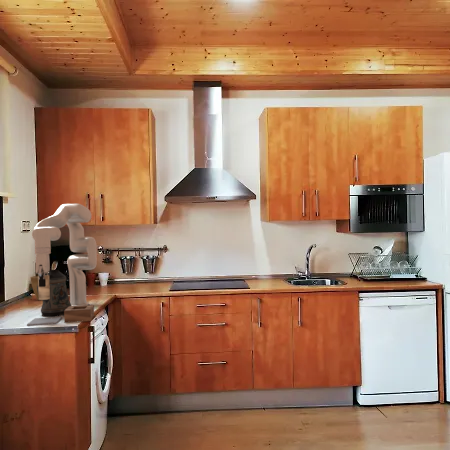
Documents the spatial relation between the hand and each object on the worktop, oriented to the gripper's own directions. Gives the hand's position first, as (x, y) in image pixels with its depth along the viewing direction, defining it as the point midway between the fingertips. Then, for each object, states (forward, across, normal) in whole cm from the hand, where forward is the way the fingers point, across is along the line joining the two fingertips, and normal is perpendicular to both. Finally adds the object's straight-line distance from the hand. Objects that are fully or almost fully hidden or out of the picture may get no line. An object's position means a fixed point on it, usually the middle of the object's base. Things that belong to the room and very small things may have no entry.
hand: (43, 285), depth 230 cm
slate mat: (+19, 0, 0) cm, 19 cm away
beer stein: (+19, -19, +1) cm, 27 cm away
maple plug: (+7, 0, 0) cm, 7 cm away
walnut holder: (+19, -2, +17) cm, 26 cm away
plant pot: (+19, -76, -20) cm, 81 cm away
